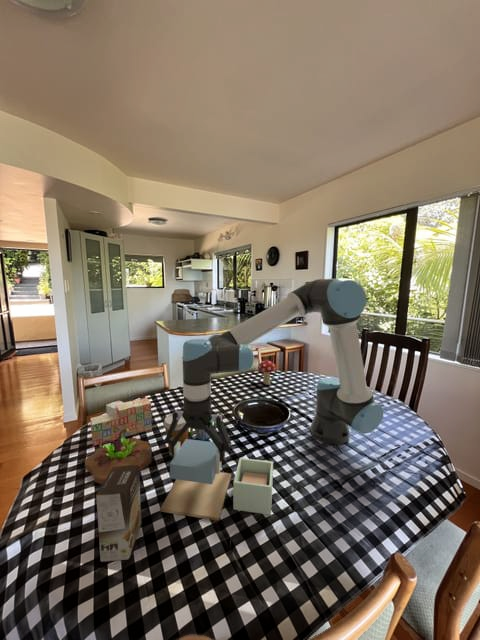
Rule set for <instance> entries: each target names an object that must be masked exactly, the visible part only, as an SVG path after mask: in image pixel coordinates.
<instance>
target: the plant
mask: <svg viewBox="0 0 480 640" xmlns="http://www.w3.org/2000/svg"><path fill="white" fill-rule="evenodd" d="M122 432H125V433H128V432H129V429H123V430H121V432H120V434H119V436H118V439H117V441H116V440H106V441H104V442H103V443H101V444H99V448H97V449H96V450H95V451H94V453H93V454H91V455H88V456H87V457H86V458H85V461H84V468H85V469H86V470H87V471H88V472H89V473H90V474H91V476H92V478H93V481H94V483H98V484H100V485H102V484H103V483H104V481H105V479H106V478H107V476H108V475H109V473H110V471H111V470H112V468H113V467H121V466H127V465H139V472H141V471H142V470H143V469H145V468H146V467H148V466H149V465H151V464H152V454H153V453H152V446H151V445H150V444H149V443H148V442H147V441H146V440H145V441H144V440H140V439H139V438H137V437H131V438H126V437H123V438H121V434H122ZM105 442H106V443H108V444H106V443H105ZM109 443H111V444H109Z"/></svg>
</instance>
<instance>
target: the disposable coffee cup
mask: <svg viewBox="0 0 480 640" xmlns="http://www.w3.org/2000/svg"><path fill="white" fill-rule="evenodd" d="M173 413H174V412H173ZM173 413H170V414H168V415H167V416H166V417H165V418H164V420H163V426H164V429H165V434H166V435H165V436H167V433H168V431H169V428H170V425H171V423H172V415H173ZM185 424H186V421H185V420H184V418H183V417H181V418H180V419H179V421H178V423H177V426H176V428H175V431H174V433H173V436H172V437H173V438H175V437H176V435H177V434H178V433H179V431H180V430H181V429H182V427H183V426H184V425H185ZM189 432H190V427H188V429H187V430H186V431H185V432H184V434H183V435H182V436H181V437H180V439H179V440H178V441H177V442H180V448H181V446H182V444H183V443H184V441H185V440H186V439H189V437H188V436H189ZM167 445H168V446H167V447H168V451H169V453H171V445H170V444H169V443H167Z"/></svg>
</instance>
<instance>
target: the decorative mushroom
mask: <svg viewBox="0 0 480 640" xmlns="http://www.w3.org/2000/svg"><path fill="white" fill-rule="evenodd" d="M257 369H258V370H259V371H260V372H262V373H263V379H262V382H263V384H264V385H265V386H268V385H270V384H271V376H270V375H271V373H273V372H275V371H277V365H276V364H275V363H274V362H272V361H271V360H268V359H267V360H264V361H263V360H262V361H261V362H260V363H258V366H257Z"/></svg>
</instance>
